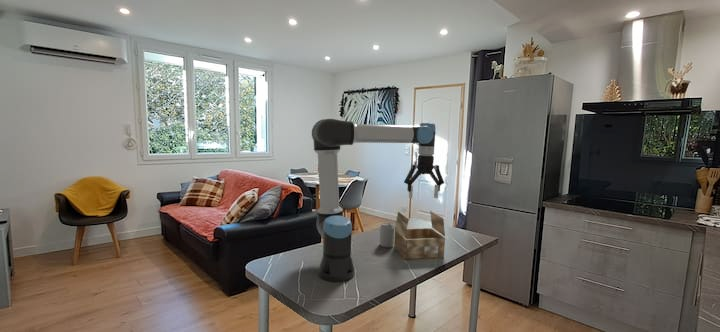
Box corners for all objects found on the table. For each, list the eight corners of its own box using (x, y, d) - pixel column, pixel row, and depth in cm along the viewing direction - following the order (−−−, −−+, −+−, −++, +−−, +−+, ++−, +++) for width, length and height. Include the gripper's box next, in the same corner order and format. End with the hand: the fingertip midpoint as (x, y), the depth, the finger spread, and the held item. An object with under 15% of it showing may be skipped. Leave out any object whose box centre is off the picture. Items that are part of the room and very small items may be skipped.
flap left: (404, 237, 151) (403, 237, 151) (395, 228, 165) (394, 228, 164) (408, 218, 150) (407, 218, 150) (399, 211, 164) (398, 211, 164)
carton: (405, 260, 150) (406, 240, 149) (393, 247, 167) (394, 229, 166) (444, 258, 155) (445, 238, 154) (429, 246, 171) (430, 227, 170)
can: (392, 248, 166) (393, 226, 164) (378, 247, 167) (379, 224, 166) (394, 244, 173) (395, 222, 172) (380, 242, 174) (381, 221, 173)
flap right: (442, 218, 154) (443, 217, 154) (430, 210, 168) (431, 210, 168) (444, 236, 155) (445, 235, 155) (432, 227, 169) (432, 227, 169)
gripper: (404, 155, 149) (402, 199, 151) (453, 156, 155) (450, 199, 157) (399, 153, 156) (396, 196, 158) (445, 155, 162) (442, 196, 164)
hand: (423, 198), depth 157 cm, fingers open, 13 cm apart
